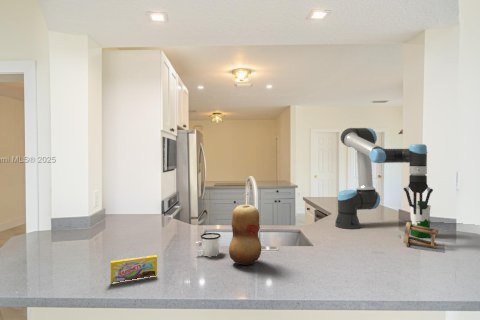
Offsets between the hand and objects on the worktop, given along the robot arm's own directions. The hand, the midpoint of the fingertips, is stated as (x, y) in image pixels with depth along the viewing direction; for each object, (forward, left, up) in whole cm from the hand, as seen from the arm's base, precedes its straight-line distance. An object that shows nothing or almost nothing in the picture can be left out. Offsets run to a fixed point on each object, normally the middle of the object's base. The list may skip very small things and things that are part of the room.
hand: (417, 220), depth 144 cm
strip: (-4, 0, -12) cm, 13 cm away
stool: (-6, 0, -6) cm, 9 cm away
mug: (-81, -69, -13) cm, 107 cm away
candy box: (-86, -105, -13) cm, 136 cm away
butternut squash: (-60, -69, -13) cm, 92 cm away
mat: (+4, 0, -12) cm, 13 cm away
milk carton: (0, +20, -13) cm, 23 cm away
